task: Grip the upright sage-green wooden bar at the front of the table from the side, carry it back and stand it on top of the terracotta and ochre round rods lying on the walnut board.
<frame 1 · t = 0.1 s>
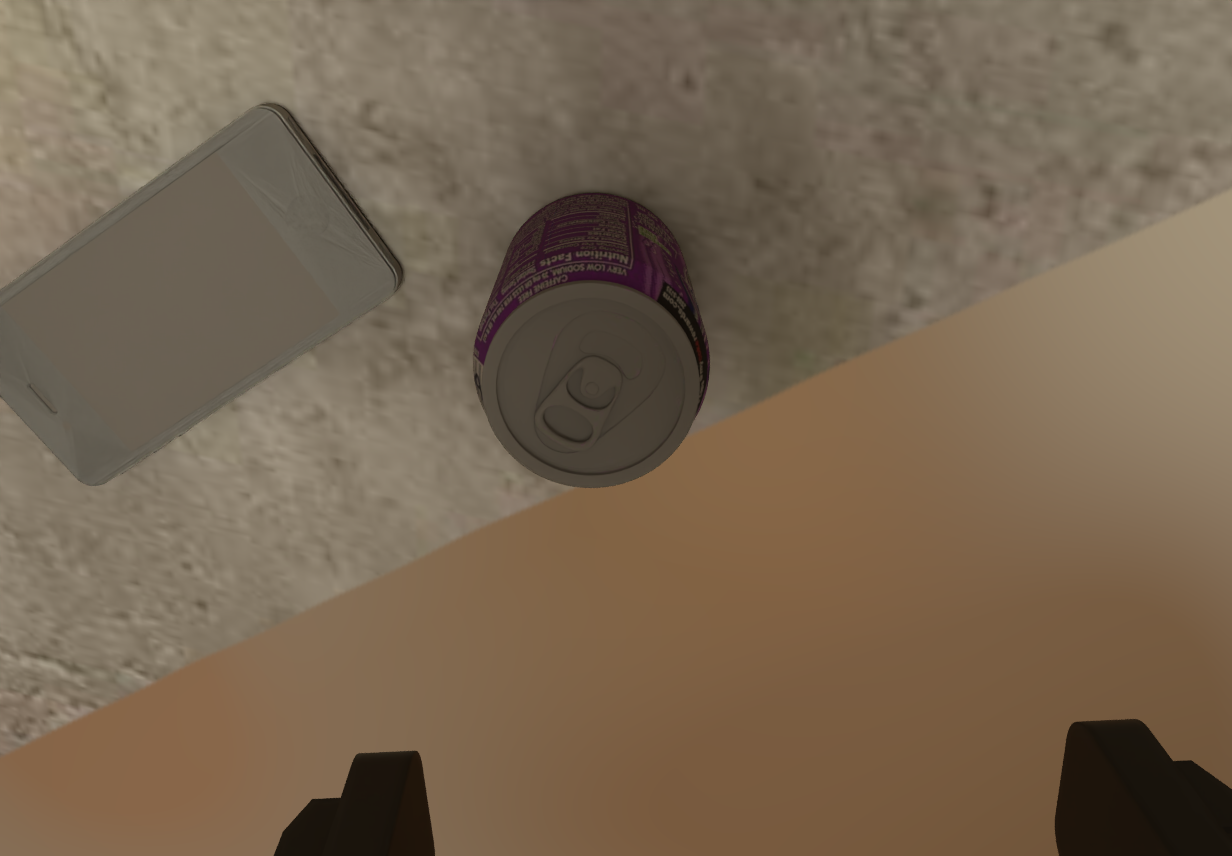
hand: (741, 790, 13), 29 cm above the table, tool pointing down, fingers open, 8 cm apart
phone: (185, 301, 41), on the table
beverage can: (594, 280, 41), on the table
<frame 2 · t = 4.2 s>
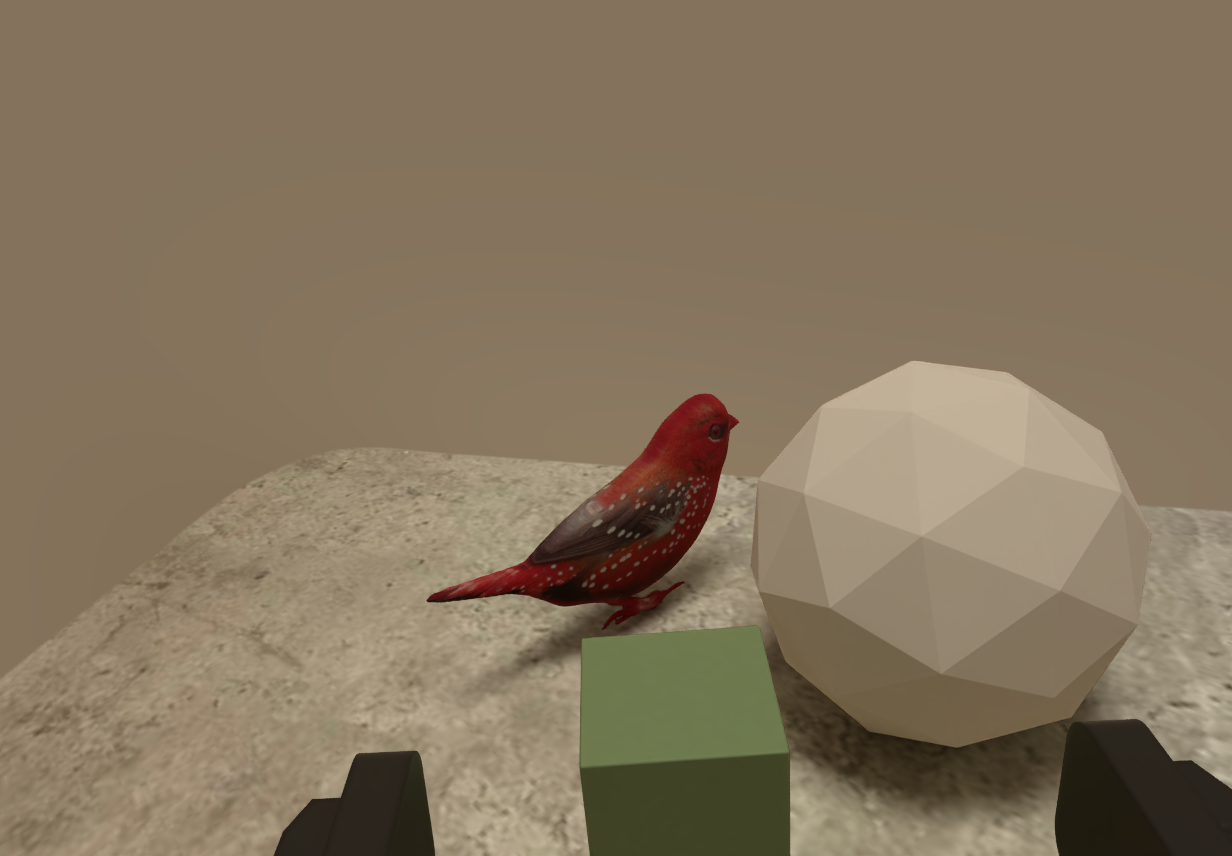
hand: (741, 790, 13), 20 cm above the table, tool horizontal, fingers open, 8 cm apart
geometric sphere: (928, 696, 44), on the table
decorative bird figurine: (610, 633, 49), on the table
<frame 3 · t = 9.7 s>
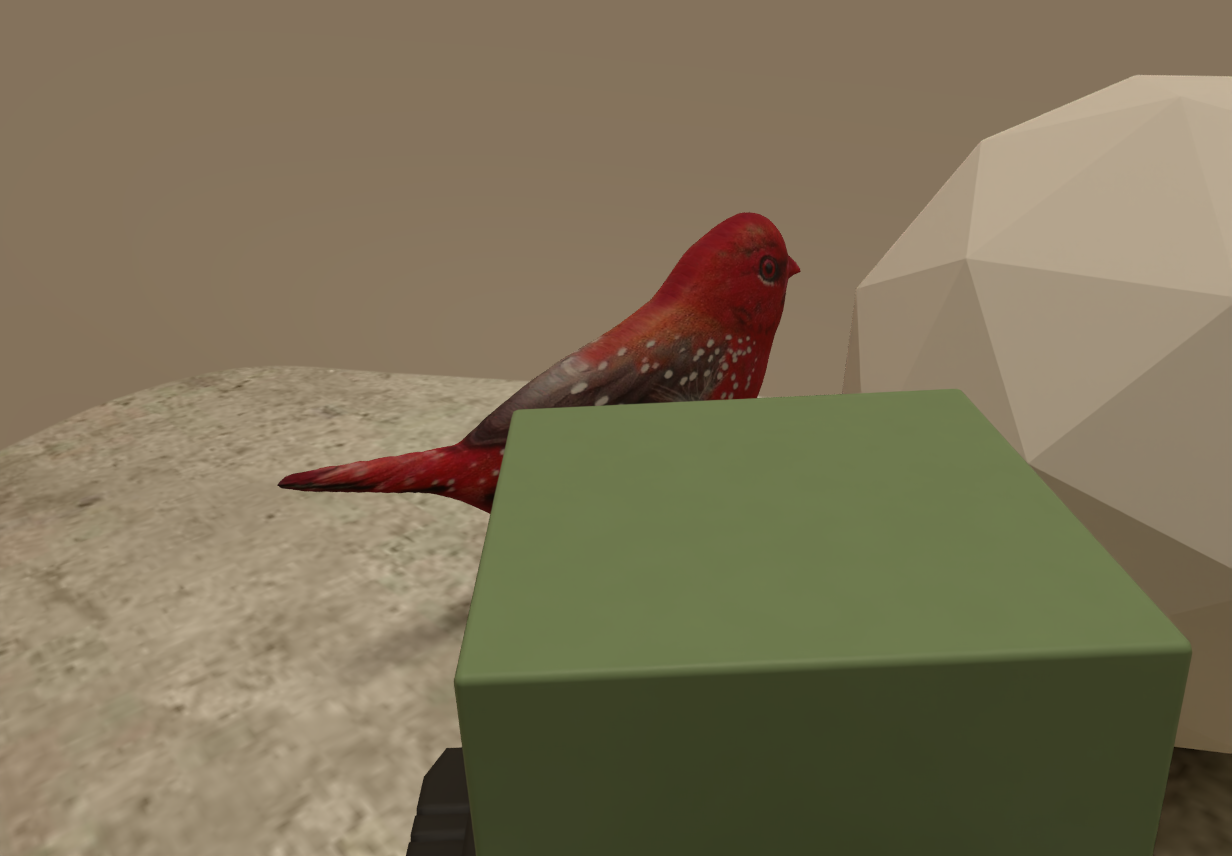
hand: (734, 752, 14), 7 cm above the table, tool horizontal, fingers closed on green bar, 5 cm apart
geometric sphere: (1128, 683, 26), on the table
decorative bird figurine: (595, 584, 31), on the table
when the fingers open (11 cm above the table, at t = 20.4 s): green bar stays where it is, resting on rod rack.
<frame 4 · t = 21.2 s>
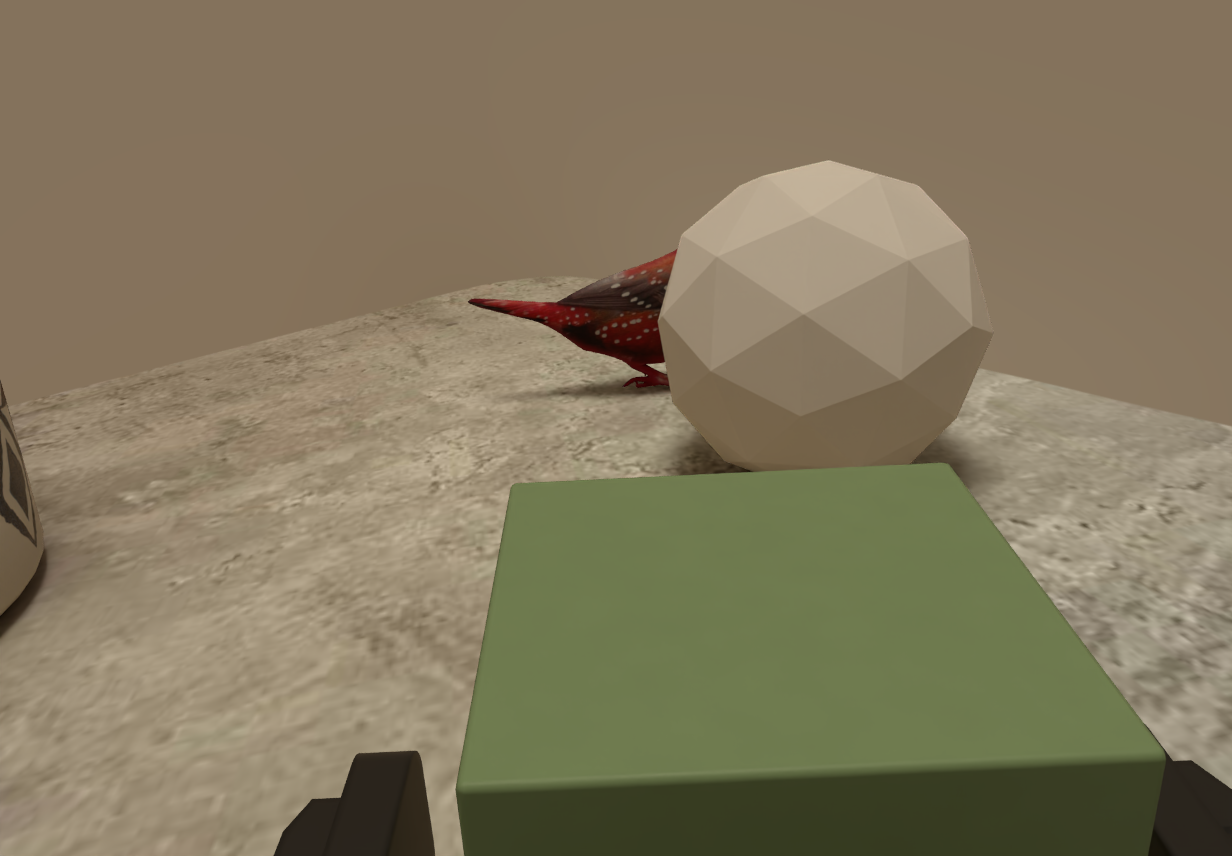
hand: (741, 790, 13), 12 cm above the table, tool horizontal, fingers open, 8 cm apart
geometric sphere: (814, 471, 50), on the table
decorative bird figurine: (630, 393, 61), on the table
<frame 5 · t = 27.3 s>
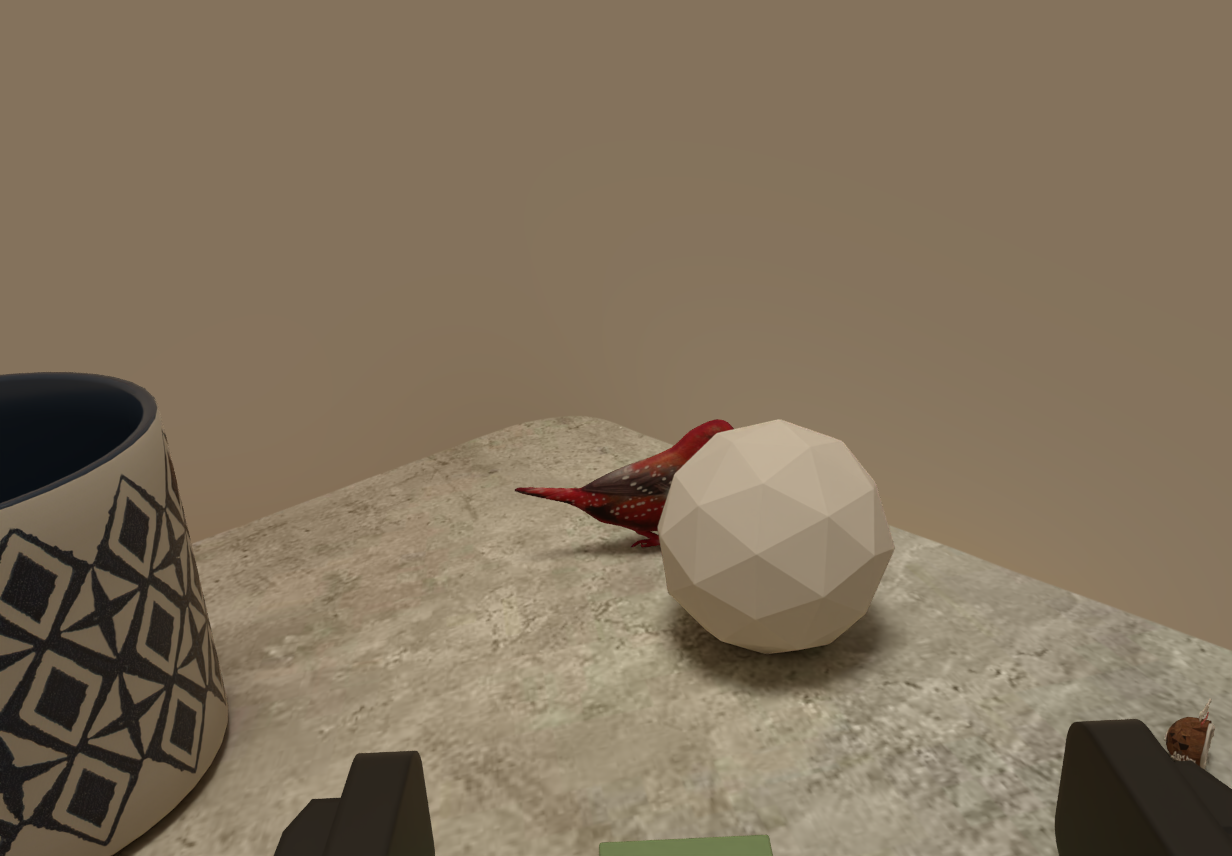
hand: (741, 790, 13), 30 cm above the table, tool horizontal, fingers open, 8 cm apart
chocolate: (1185, 764, 56), on the table
geometric sphere: (771, 633, 69), on the table
decorative bird figurine: (636, 551, 80), on the table
planter: (26, 776, 59), on the table
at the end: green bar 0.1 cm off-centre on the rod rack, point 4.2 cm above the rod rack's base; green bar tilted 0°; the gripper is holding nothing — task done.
